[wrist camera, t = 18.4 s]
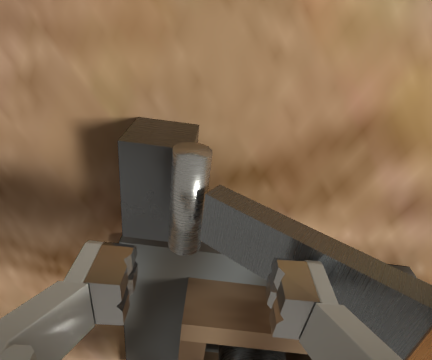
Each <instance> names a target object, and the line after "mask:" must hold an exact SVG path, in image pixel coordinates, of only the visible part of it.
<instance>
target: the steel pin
mask: <svg viewBox="0 0 432 360" xmlns="http://www.w3.org/2000/svg"><path fill="white" fill-rule="evenodd" d="M218 360H286V356H285V352H281V351H272V350H263V349H254V348H245V347H236V346H226V345H219V356H218Z"/></svg>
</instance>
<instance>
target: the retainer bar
mask: <svg viewBox="0 0 432 360" xmlns="http://www.w3.org/2000/svg"><path fill="white" fill-rule="evenodd" d="M200 241H202V242H203V243H205V244H207V245H208V246H210V247H212V248H213V249H215V250H217V251H218V252H220V253H222V254H223V255H225V256H227V257H228V258H230V259H232V260H233V261H235V262H237V263H238V264H240V265H241V266H243V267H245V268H246V269H248V270H250V271H251V272H253V273H255V274H256V275H258V276H260V277H261V278H263V279H265V280H266V281H267V278H268V275H269V274H270V273H272V269H271V264H272V261H273V259H274V258H287V259H299V260H312V261H320V262H321V263H322V264H323V266H324V269H325V271H326V274H327V276H328V279H329V281H330V284H331V286H332V289H333V291H334V294H335V296H336V299H337V301H338V304H339V305H344V306H345V307H346V308H347V309H348V310H349V311H351V312H352V313H353V314H354V315H355V316H356V317H357V318H358V319H359V320H360V321H361V322H362V323H364V324H365V325H366V326H367V327H368V328H369V329H370V330H371V331H372V332H373V333H374V334H376V335H377V336H378V337H379V338H380V339H381V340H382V341H383V342H384V343H385V344H386V345H387V346H389V347H390V348H391V349H392V350H393V351H394V352H395V353H396V354H397V355H398V356H399V357H400V358H402V359H403V360H432V285H430V284H428V283H426V282H424V281H422V280H420V279H418V278H416V277H413V276H411V275H409V274H407V273H405V272H403V271H401V270H399V269H397V268H394V267H392V266H390V265H388V264H386V263H384V262H382V261H380V260H378V259H376V258H373V257H371V256H369V255H367V254H365V253H363V252H361V251H359V250H357V249H354V248H352V247H350V246H348V245H346V244H344V243H342V242H340V241H338V240H335V239H333V238H331V237H329V236H327V235H325V234H323V233H321V232H319V231H316V230H314V229H312V228H310V227H308V226H306V225H304V224H302V223H300V222H298V221H295V220H293V219H291V218H289V217H287V216H285V215H283V214H281V213H279V212H276V211H274V210H272V209H270V208H268V207H266V206H264V205H262V204H260V203H257V202H255V201H253V200H251V199H249V198H247V197H245V196H243V195H241V194H238V193H236V192H234V191H232V190H230V189H228V188H226V187H224V186H222V185H219V186H217V187H216V188H214V189H212V190H211V191H209V192H208V193H206V194H205V201H204V210H203V218H202V226H201V234H200Z"/></svg>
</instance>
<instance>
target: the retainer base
mask: <svg viewBox="0 0 432 360" xmlns="http://www.w3.org/2000/svg"><path fill="white" fill-rule="evenodd" d="M198 134H199V125H195V124H187V123H179V122H172V121H164V120H156V119H148V118H141V117H138V118H137V119H136V120H135V121H134V123H133V124H132V125H131V126H130V127H129V128H128V129H127V131H126V132H125V133H124V134H123V135H122V136H121V137H120V139H119V140H118V155H119V174H120V194H121V213H122V233H123V237H132V238H140V239H149V240H157V241H166V242H168V247H169V249H170V250H171V251H172V252H173V253H175V254H177V255H182V256H188V255H192V254H195V253H196V252H198V250H199V249H200V247H201V241H200V234H201V226H202V218H203V210H204V201H205V194H206V193H207V192H208V184H209V176H210V169H211V161H212V153H213V152H212V149H211V148H209V147H208V146H206V145H204V144H200V143H198Z"/></svg>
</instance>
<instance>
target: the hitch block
mask: <svg viewBox="0 0 432 360" xmlns="http://www.w3.org/2000/svg"><path fill="white" fill-rule="evenodd" d="M119 243H120V244H129V245H136V246H137V257H136V260H135V261H136V262H137V263H138V275H137V281H136V286H135V290H134V293H133V294H132V295H131V296H130V297H129V302H130V306H129V310H128V313H127V316H126V319H125V323H124V332H125V348H126V360H218V356H219V345H226V346H236V347H245V348H254V349H263V350H272V351H281V352H285V356H286V360H312V359H311V358H310V356H309V355H308V353H307V352H306V351H305V349H304V348H303V346H302V345H301V344H300V342H299V340H296V339H286V338H277V337H272V333H271V327H270V321H269V315H270V312H271V308H270V307H269V306H268V305H267V301H266V282H267V281H266V280H265V279H263V278H261V277H260V276H258V275H256V274H255V273H253V272H251V271H250V270H248V269H246V268H245V267H243V266H241V265H240V264H238V263H237V262H235V261H233V260H232V259H230V258H228V257H227V256H225V255H223V254H222V253H220V252H218V251H217V250H215V249H213V248H212V247H210V246H208V245H207V244H205V243H203V242H201V247H200V249H199V250H198V252H196V253H195V254H192V255H188V256H182V255H177V254H175V253H173V252H172V251H171V250H170V249H169V247H168V242H166V241H157V240H149V239H140V238H132V237H123V235H122V237H121V239H120V241H119ZM390 266H392V267H394V268H397V269H399V270H401V271H403V272H405V273H407V274H409V275H411V276H413V277H416V276H415V274H414V273H413V272H412V270H411V269H410V267H405V266H397V265H390Z"/></svg>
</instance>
